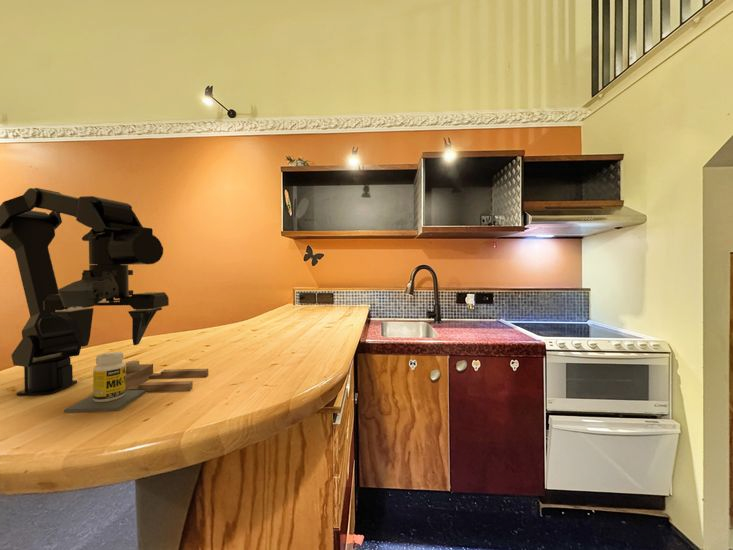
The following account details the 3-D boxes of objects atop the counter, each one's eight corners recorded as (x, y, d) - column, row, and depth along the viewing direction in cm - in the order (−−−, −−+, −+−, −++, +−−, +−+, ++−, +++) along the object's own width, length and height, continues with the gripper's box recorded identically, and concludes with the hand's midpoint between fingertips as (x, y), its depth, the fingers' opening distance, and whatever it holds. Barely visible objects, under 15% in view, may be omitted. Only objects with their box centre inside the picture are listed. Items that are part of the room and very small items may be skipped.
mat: (64, 412, 53) (64, 409, 53) (103, 391, 62) (103, 388, 62) (118, 410, 54) (118, 407, 54) (149, 390, 63) (149, 387, 63)
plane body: (109, 393, 61) (108, 369, 61) (139, 377, 70) (139, 356, 70) (189, 391, 62) (189, 367, 62) (208, 375, 72) (208, 354, 72)
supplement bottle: (106, 404, 55) (106, 359, 55) (86, 401, 56) (86, 357, 56) (132, 393, 60) (131, 351, 59) (112, 391, 60) (112, 350, 60)
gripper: (9, 264, 48) (11, 359, 48) (133, 264, 50) (134, 356, 50) (70, 265, 59) (71, 342, 60) (169, 265, 61) (170, 340, 61)
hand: (110, 345), depth 57 cm, fingers open, 9 cm apart
